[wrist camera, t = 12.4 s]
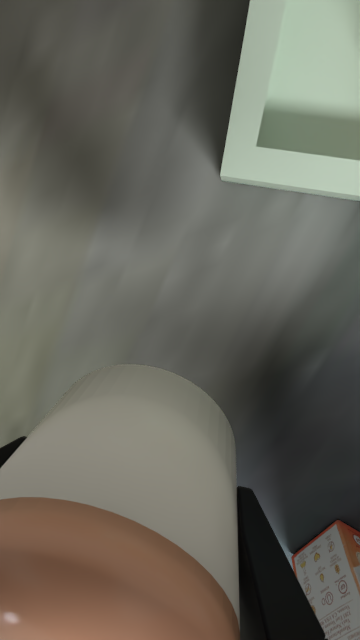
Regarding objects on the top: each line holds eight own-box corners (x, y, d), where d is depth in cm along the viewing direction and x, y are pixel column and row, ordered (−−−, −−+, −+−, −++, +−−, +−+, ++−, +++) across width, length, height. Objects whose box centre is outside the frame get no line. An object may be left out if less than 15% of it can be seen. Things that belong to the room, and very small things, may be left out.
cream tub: (256, 388, 9) (289, 621, 4) (215, 529, 11) (204, 787, 6) (55, 345, 9) (-138, 504, 4) (56, 488, 11) (-71, 696, 7)
